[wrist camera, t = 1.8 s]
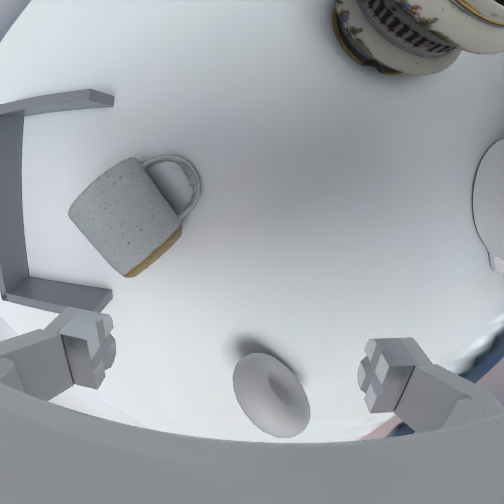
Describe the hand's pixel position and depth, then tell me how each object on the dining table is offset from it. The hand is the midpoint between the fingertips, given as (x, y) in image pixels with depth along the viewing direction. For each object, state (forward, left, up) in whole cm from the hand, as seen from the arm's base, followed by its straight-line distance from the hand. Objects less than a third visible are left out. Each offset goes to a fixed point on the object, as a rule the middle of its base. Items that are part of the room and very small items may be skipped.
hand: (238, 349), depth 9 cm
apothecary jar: (-11, -20, -22) cm, 31 cm away
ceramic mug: (+10, 0, -22) cm, 24 cm away
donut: (-4, +17, -22) cm, 28 cm away
